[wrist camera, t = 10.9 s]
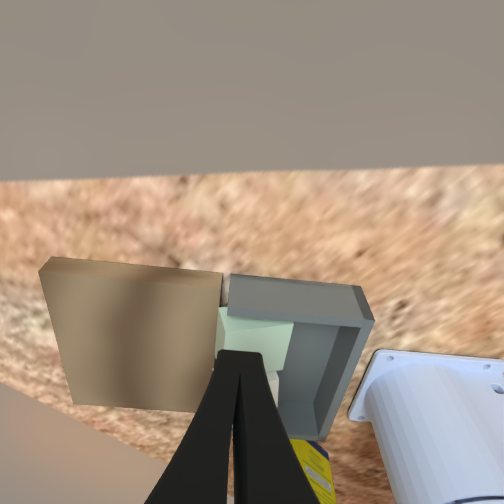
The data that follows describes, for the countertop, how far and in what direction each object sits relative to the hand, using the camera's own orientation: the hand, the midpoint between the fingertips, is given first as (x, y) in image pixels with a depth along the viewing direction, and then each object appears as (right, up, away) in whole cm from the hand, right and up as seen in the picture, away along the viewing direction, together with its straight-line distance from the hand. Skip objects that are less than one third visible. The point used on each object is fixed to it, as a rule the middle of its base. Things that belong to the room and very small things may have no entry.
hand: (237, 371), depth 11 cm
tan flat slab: (-7, -2, +12) cm, 14 cm away
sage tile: (0, -1, +11) cm, 11 cm away
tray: (+2, -3, +13) cm, 13 cm away
